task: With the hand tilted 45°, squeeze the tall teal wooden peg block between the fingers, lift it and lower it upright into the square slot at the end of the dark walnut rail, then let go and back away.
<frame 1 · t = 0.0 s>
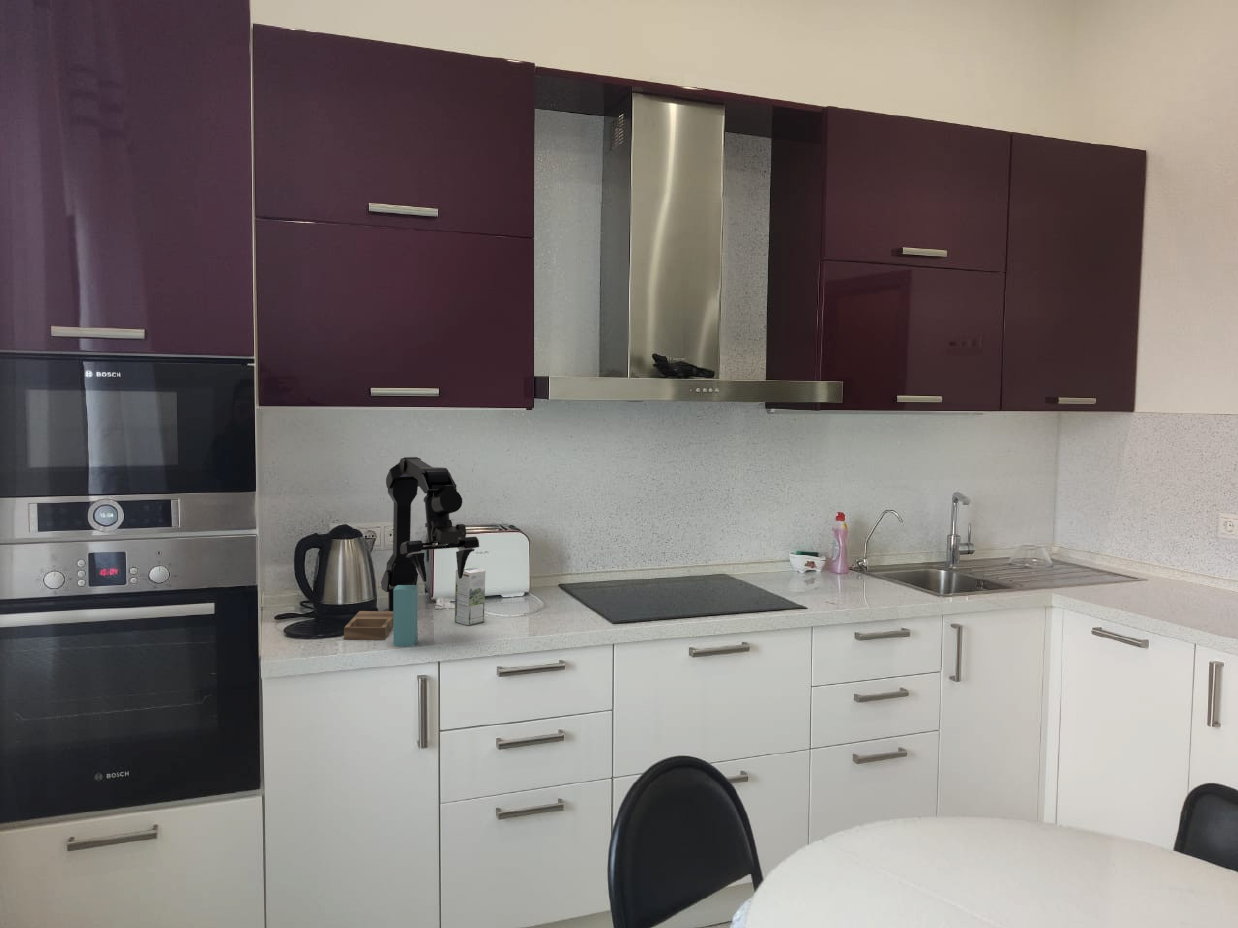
hand: (442, 580, 230), 15 cm above the table, tool pointing down, fingers open, 9 cm apart
syrup box: (469, 623, 250), on the table
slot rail: (368, 634, 236), on the table
teal peg block: (405, 643, 229), on the table
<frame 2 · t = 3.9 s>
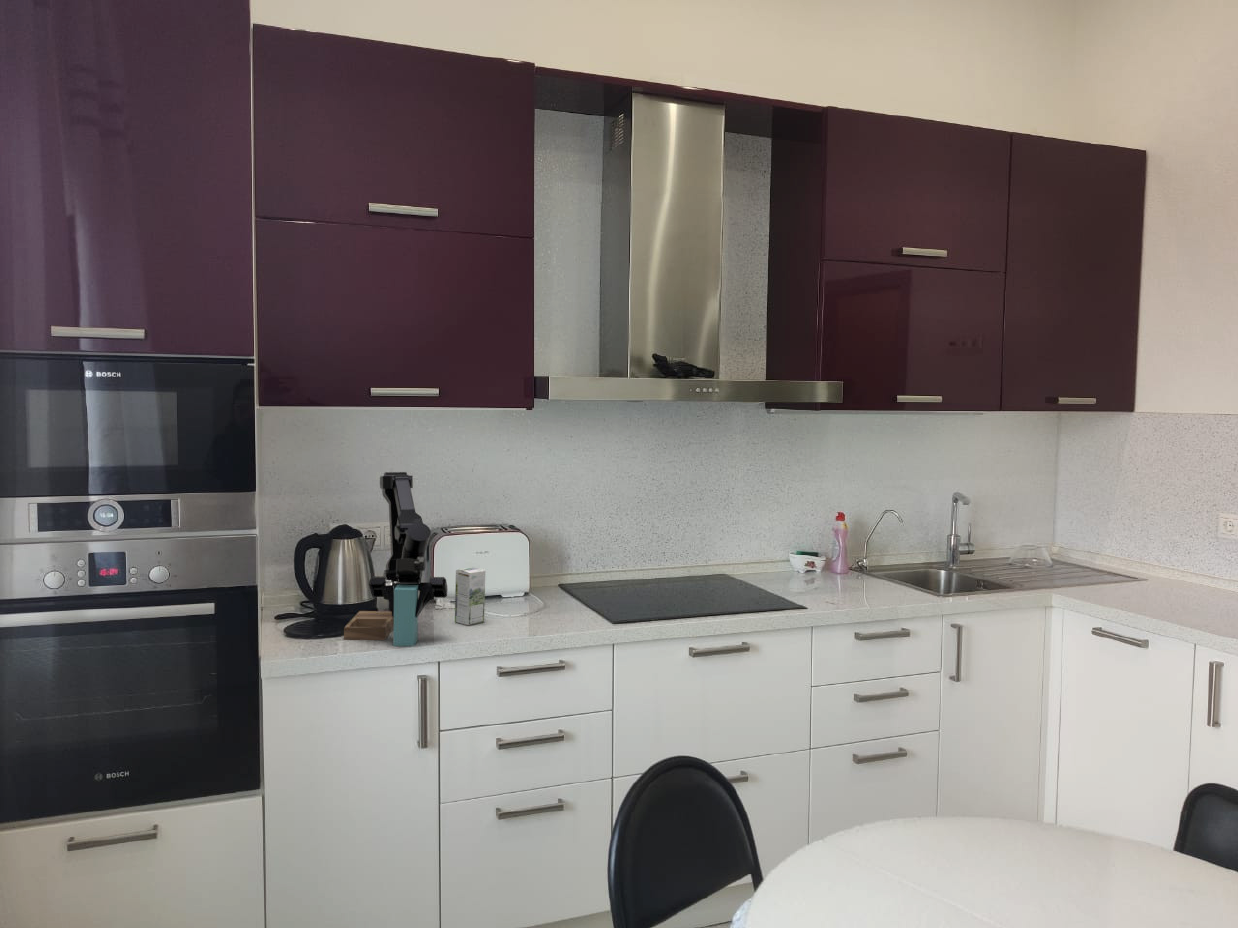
hand: (404, 616, 227), 7 cm above the table, tool tilted 45°, fingers closed on teal peg block, 5 cm apart
teal peg block: (405, 642, 229), on the table, touching gripper
everything else where it was.
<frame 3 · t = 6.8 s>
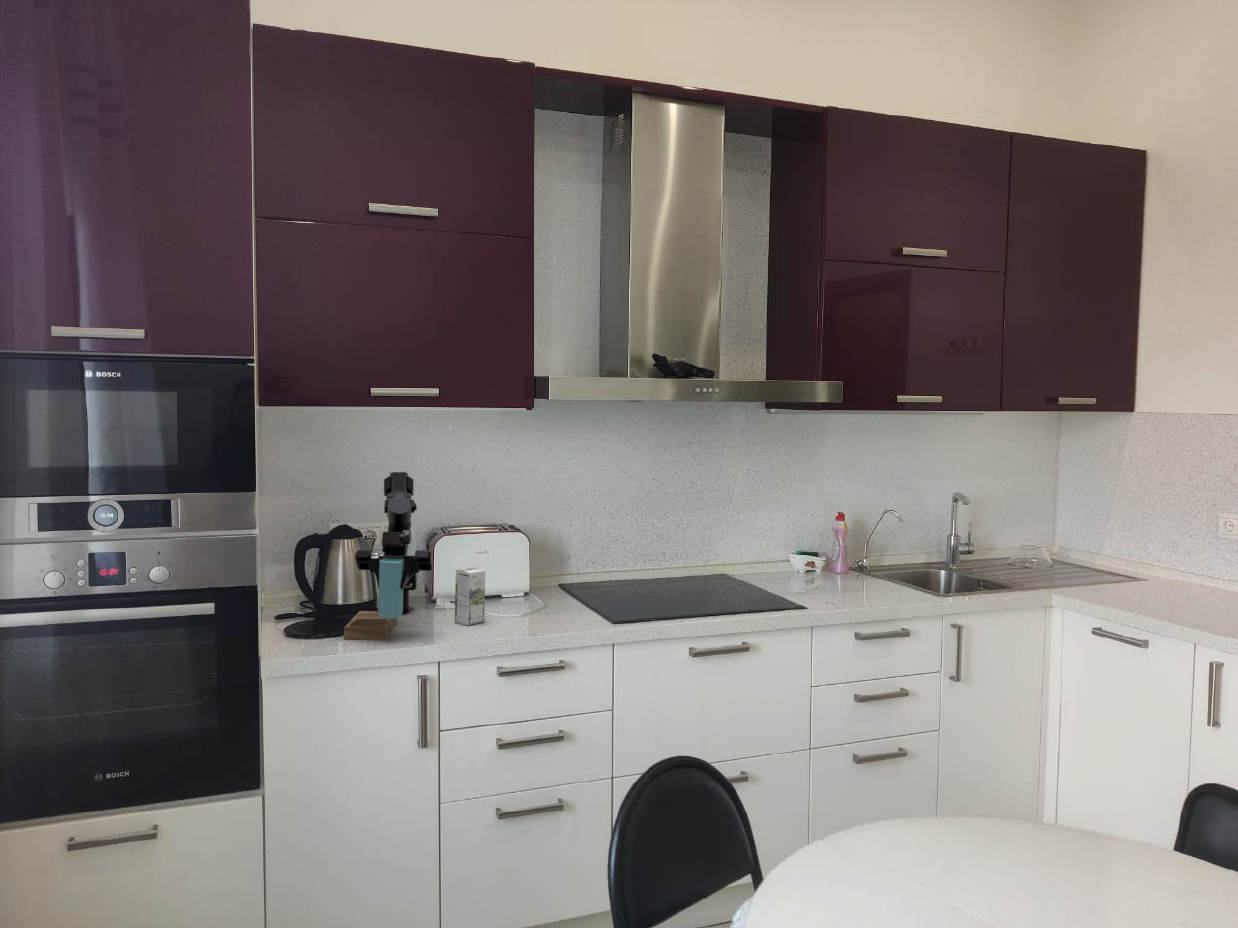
hand: (390, 588, 229), 13 cm above the table, tool tilted 45°, fingers closed on teal peg block, 5 cm apart
teal peg block: (390, 615, 231), point 6 cm above the table, touching gripper
everything else where it was.
when the fingers open (9 cm above the table, at t = 9.6 s): teal peg block drops 1 cm, resting in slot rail.
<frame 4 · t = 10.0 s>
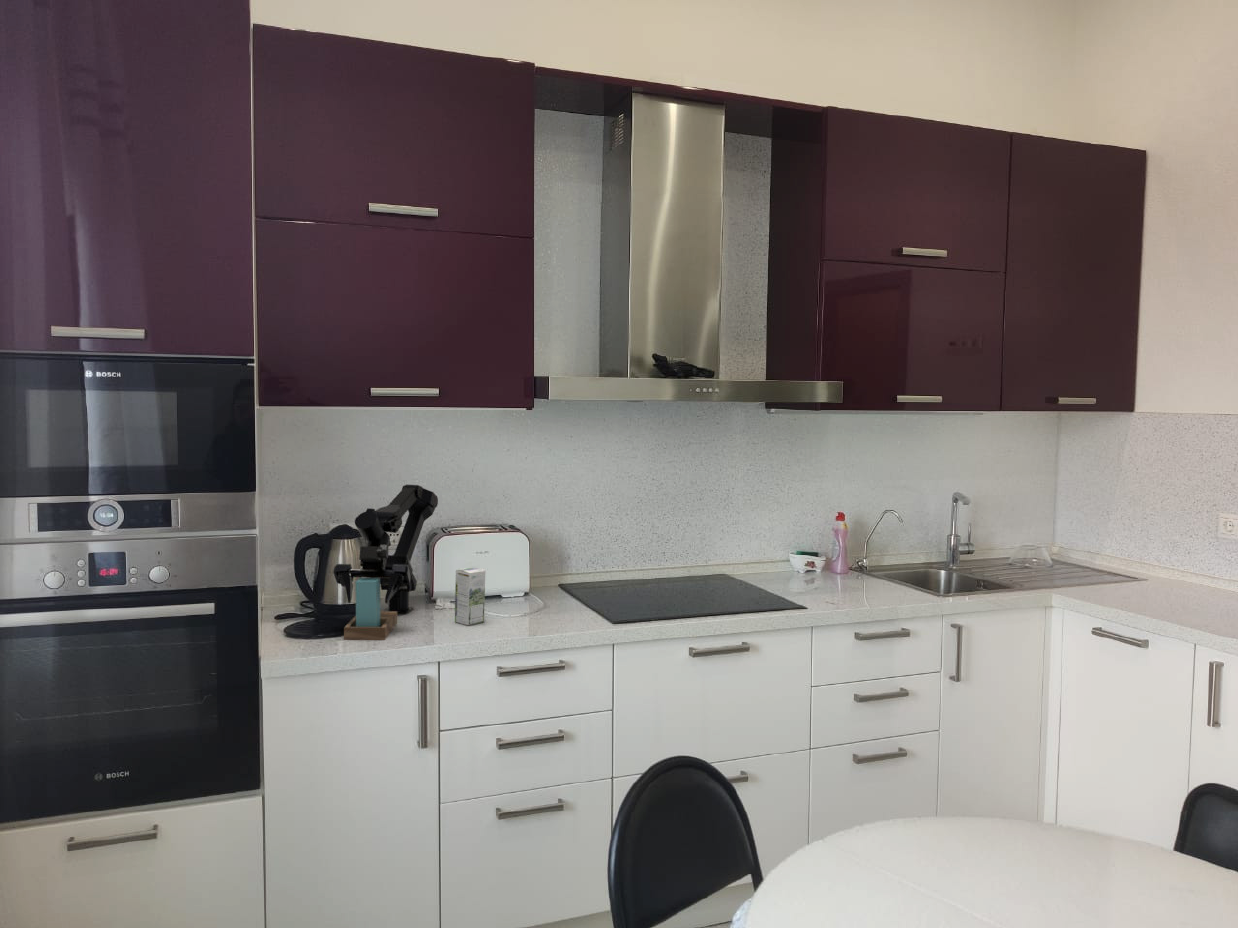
hand: (367, 602, 234), 9 cm above the table, tool tilted 45°, fingers open, 9 cm apart
teal peg block: (368, 633, 236), resting in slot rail
everything else where it was.
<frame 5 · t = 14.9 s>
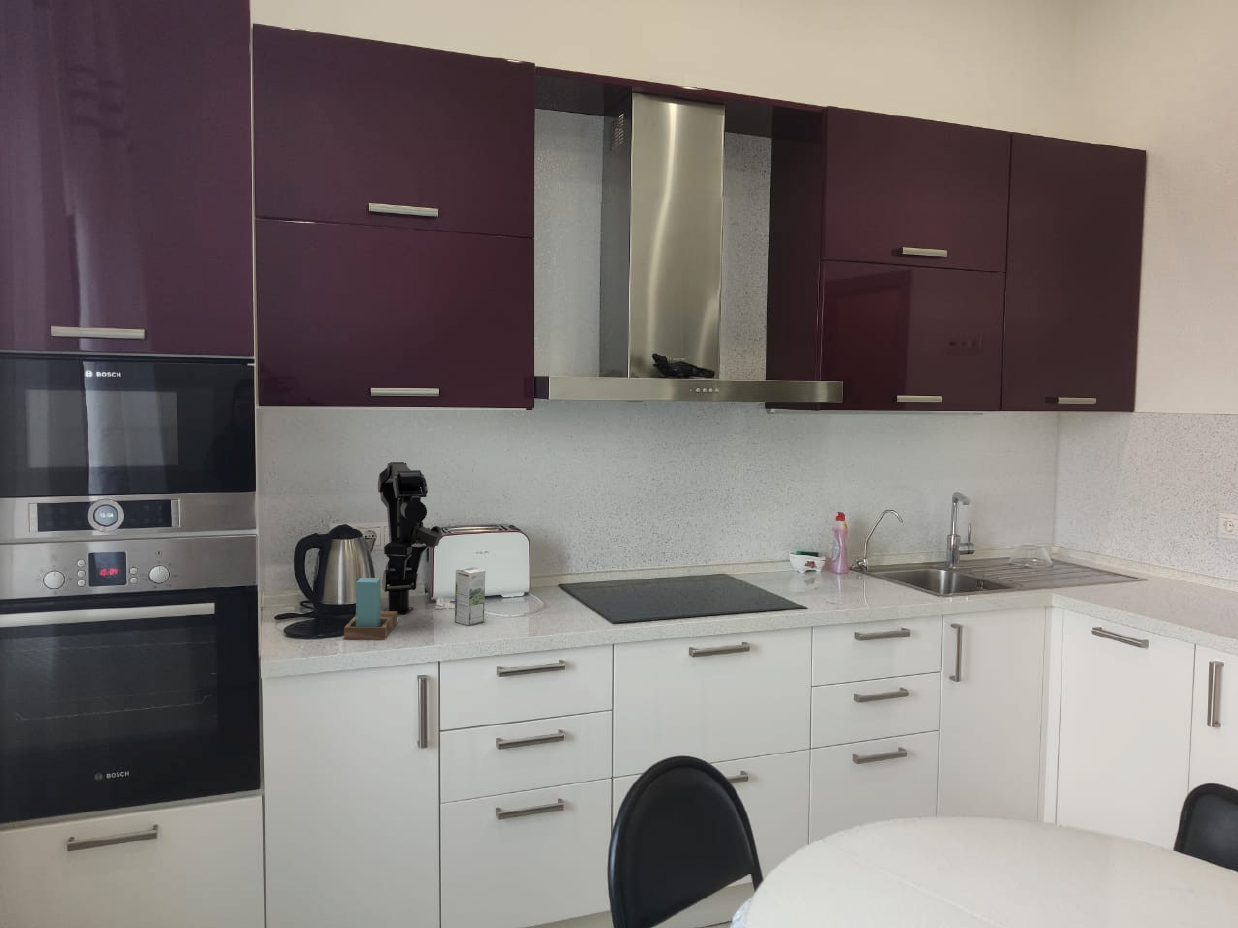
hand: (408, 576, 245), 13 cm above the table, tool pointing down, fingers open, 9 cm apart
nothing on the table moved.
at the end: teal peg block 0.2 cm off-centre on the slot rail, point 0.0 cm above the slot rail's base; teal peg block tilted 0°; the gripper is holding nothing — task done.
